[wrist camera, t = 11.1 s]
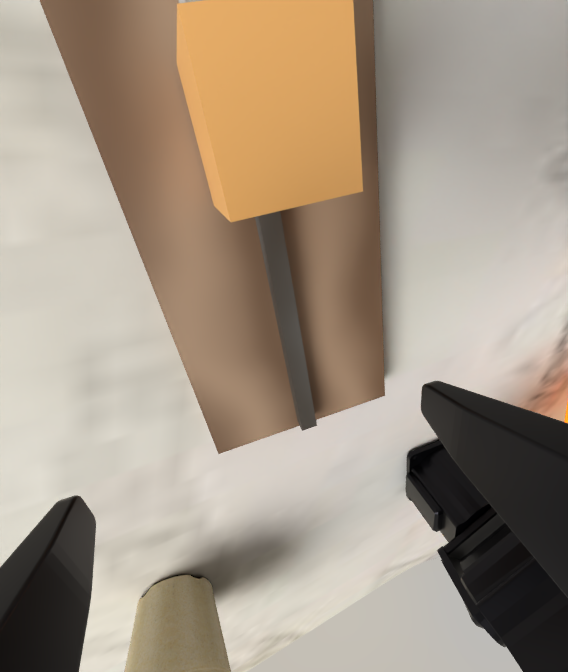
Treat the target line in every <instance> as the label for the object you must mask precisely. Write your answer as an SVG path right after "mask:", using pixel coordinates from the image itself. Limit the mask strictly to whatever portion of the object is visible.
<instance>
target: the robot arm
mask: <svg viewBox="0 0 568 672" xmlns="http://www.w3.org/2000/svg"><path fill="white" fill-rule="evenodd" d="M421 411H422V413H423V415H424V417H425V419H426V420H427V422H428V423H429V424H430V426H431V427H432V429H433V430H434V432H435V433H436V435H437V436H438V438H439V439H440V441H437V442H434V443H432V444H429V445H427V446H424V447H422V448H419V449H416V450H414V451H411V452H410V453H409V454H408V455H407V475H406V496H407V497H408V499H409V500H411V501H412V502H413V503H414V504H415V506H416V507H417V509H418V510H419V511H420V513H421V514H422V516H423V517H424V518H425V520H426V521H427V523H428V524H429V525H430V527H431V528H432V530H434V531H436V532H437V531H441V533H442V534H443V535H444V537H445V538H446V540H447V541H448V542H449V543H448V544H446V545H445V546H444V547H443V546H442V547H441V548H439V549H438V550H437V551H438V553H439V555H440V557H441V559H442V560H441V561H442V563H443V565H444V567H445V568H446V570H447V572H448V574H449V575H450V577H451V579H452V581H453V583H454V585H455V586H456V588H457V590H458V592H459V593H460V595H461V597H462V599H463V601H464V603H465V605H466V608H467V610H468V612H469V615H470V617H471V619H472V621H473V622H474V623H475V624H476V625H477V626H478V627H481V628H484V629H485V630H486V631H487V632H488V633H489V634H490V636H491V637H492V638H493V639H494V640H495V641H496V642H497V643H499V644H500V645H501V646H503V647H507V648H508V649H509V651H510V652H511V654H512V655H513V657H514V659H515V660H516V662H517V663H518V664H519V666H520V668H521V669H522V671H523V672H568V423H565V422H562V421H559V420H556V419H553V418H550V417H547V416H544V415H541V414H538V413H535V412H532V411H529V410H526V409H523V408H520V407H517V406H513V405H510V404H507V403H504V402H501V401H498V400H495V399H492V398H489V397H486V396H483V395H480V394H477V393H474V392H471V391H468V390H465V389H462V388H459V387H456V386H453V385H450V384H447V383H443V382H440V381H433V382H430V383H427V384H425V385H423V387H422V396H421ZM95 533H96V521H95V518H94V515H93V514H92V512H91V511H90V509H89V508H88V506H87V505H86V503H85V502H84V501H83V499H82V498H81V497H80V496H78V495H77V496H72V497H69V498H66V499H62V500H60V501H58V502H57V503H56V504H55V505H54V506H53V507H52V508H51V509H50V511H49V512H48V513H47V514H46V515H45V516H44V518H43V519H42V520H41V521H40V522H39V523H38V524H37V526H36V527H35V528H34V529H33V530H32V531H31V533H30V534H29V535H28V536H27V537H26V538H25V539H24V541H23V542H22V543H21V544H20V545H19V546H18V548H17V549H16V550H15V551H14V552H13V553H12V554H11V556H10V557H9V558H8V559H7V560H6V561H5V562H4V564H3V565H2V566H1V567H0V672H79V667H80V661H81V655H82V649H83V643H84V637H85V631H86V625H87V619H88V614H89V607H90V600H91V592H92V579H93V564H94V548H95Z"/></svg>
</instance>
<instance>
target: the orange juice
mask: <svg viewBox="0 0 568 672" xmlns="http://www.w3.org/2000/svg"><path fill="white" fill-rule="evenodd" d="M565 423H568V403H567V410H566V416H565Z"/></svg>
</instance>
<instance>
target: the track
mask: <svg viewBox="0 0 568 672" xmlns="http://www.w3.org/2000/svg"><path fill="white" fill-rule="evenodd" d="M195 1H203V0H40V2H41V5H42V7H43V10H44V13H45V15H46V18H47V20H48V23H49V25H50V28H51V30H52V33H53V35H54V38H55V40H56V43H57V45H58V48H59V51H60V53H61V56H62V58H63V61H64V63H65V66H66V68H67V71H68V73H69V76H70V78H71V81H72V83H73V86H74V89H75V91H76V94H77V96H78V99H79V101H80V104H81V106H82V109H83V111H84V114H85V116H86V119H87V121H88V124H89V127H90V129H91V132H92V134H93V137H94V139H95V142H96V144H97V147H98V149H99V152H100V154H101V157H102V159H103V162H104V165H105V167H106V170H107V172H108V175H109V177H110V180H111V182H112V185H113V187H114V190H115V192H116V195H117V197H118V200H119V203H120V205H121V208H122V210H123V213H124V215H125V218H126V220H127V223H128V225H129V228H130V230H131V233H132V235H133V238H134V241H135V243H136V246H137V248H138V251H139V253H140V256H141V258H142V261H143V263H144V266H145V268H146V271H147V273H148V276H149V279H150V281H151V284H152V286H153V289H154V291H155V294H156V296H157V299H158V301H159V304H160V306H161V309H162V311H163V314H164V317H165V319H166V322H167V324H168V327H169V329H170V332H171V334H172V337H173V339H174V342H175V344H176V347H177V349H178V352H179V355H180V357H181V360H182V362H183V365H184V367H185V370H186V372H187V375H188V377H189V380H190V382H191V385H192V387H193V390H194V393H195V395H196V398H197V400H198V403H199V405H200V408H201V410H202V413H203V415H204V418H205V420H206V423H207V425H208V428H209V431H210V433H211V436H212V438H213V441H214V443H215V446H216V448H217V451H218V453H219V454H220V453H223V452H225V451H228V450H231V449H234V448H237V447H240V446H243V445H245V444H248V443H251V442H254V441H257V440H260V439H262V438H265V437H268V436H271V435H274V434H277V433H280V432H282V431H285V430H288V429H291V428H294V427H297V426H300V427H301V429H302V431H303V430H305V429H308V428H311V427H314V426H317V424H316V420H317V419H319V418H322V417H325V416H328V415H331V414H334V413H337V412H339V411H342V410H345V409H348V408H351V407H354V406H357V405H359V404H362V403H365V402H368V401H371V400H374V399H376V398H379V397H382V396H385V386H384V352H383V319H382V286H381V252H380V219H379V186H378V152H377V119H376V86H375V53H374V19H373V0H353V6H354V25H355V45H356V64H357V83H358V103H359V122H360V142H361V161H362V180H363V192H358V193H354V194H350V195H346V196H341V197H337V198H333V199H329V200H324V201H320V202H316V203H312V204H307V205H303V206H299V207H295V208H290V209H286V210H282V211H277V212H273V213H269V214H265V215H260V216H256V217H252V218H248V219H243V220H239V221H235V222H230V221H229V220H228V219H227V218H226V217H225V216H224V215H223V214H222V213H221V212H220V211H219V210H218V209H217V208H216V207H215V206H214V204H213V200H212V197H211V193H210V189H209V185H208V181H207V178H206V174H205V170H204V166H203V162H202V159H201V155H200V151H199V147H198V143H197V140H196V136H195V132H194V128H193V124H192V121H191V117H190V113H189V109H188V105H187V102H186V98H185V94H184V90H183V86H182V83H181V79H180V75H179V71H178V67H177V4H178V3H187V2H195Z"/></svg>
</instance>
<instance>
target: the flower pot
mask: <svg viewBox="0 0 568 672" xmlns="http://www.w3.org/2000/svg"><path fill="white" fill-rule="evenodd" d="M124 672H231V670H230V665H229V661H228V656H227V652H226V648H225V643H224V639H223V635H222V631H221V626H220V622H219V617H218V613H217V608H216V604H215V599H214V595H213V588H212V585H211V583H210V582H209V581H208V580H207V579H206V578H204V577H202V578H201V579H197V578H194V577H192V576H191V575H180V576H176V577H172V578H169V579H166V580H164V581H161V582H159V583H157V584H155V585H153V586H152V587H151V588H150V589H149V591H148V592H147V593H146V595H145V596H144V597H143V598H140V600H139V602H138V605H137V611H136V616H135V621H134V626H133V632H132V637H131V642H130V647H129V651H128V656H127V661H126V666H125V671H124Z"/></svg>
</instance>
